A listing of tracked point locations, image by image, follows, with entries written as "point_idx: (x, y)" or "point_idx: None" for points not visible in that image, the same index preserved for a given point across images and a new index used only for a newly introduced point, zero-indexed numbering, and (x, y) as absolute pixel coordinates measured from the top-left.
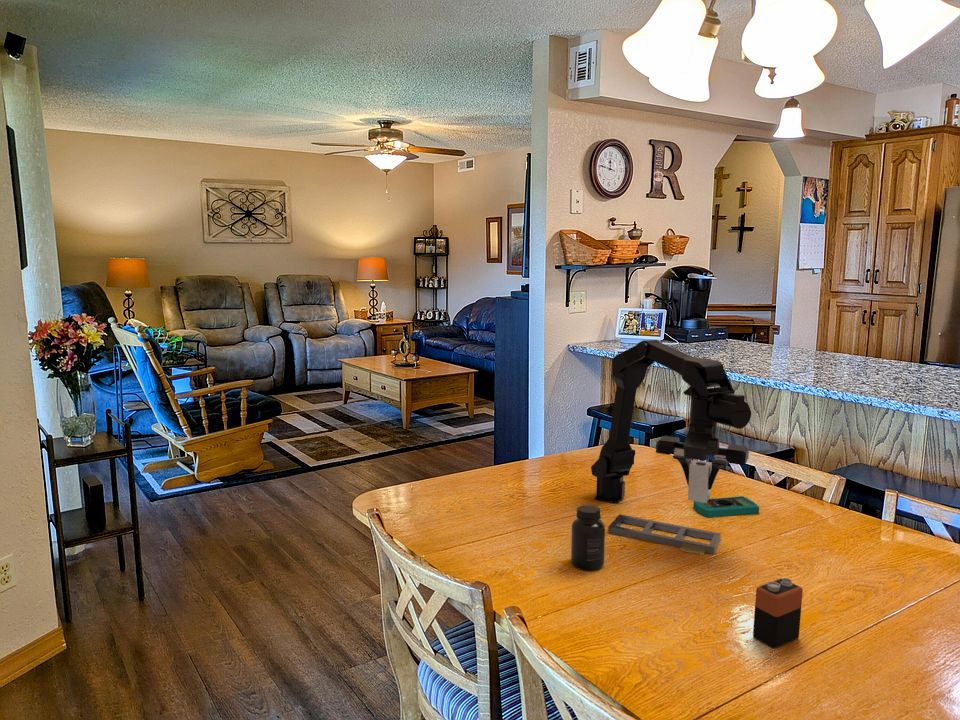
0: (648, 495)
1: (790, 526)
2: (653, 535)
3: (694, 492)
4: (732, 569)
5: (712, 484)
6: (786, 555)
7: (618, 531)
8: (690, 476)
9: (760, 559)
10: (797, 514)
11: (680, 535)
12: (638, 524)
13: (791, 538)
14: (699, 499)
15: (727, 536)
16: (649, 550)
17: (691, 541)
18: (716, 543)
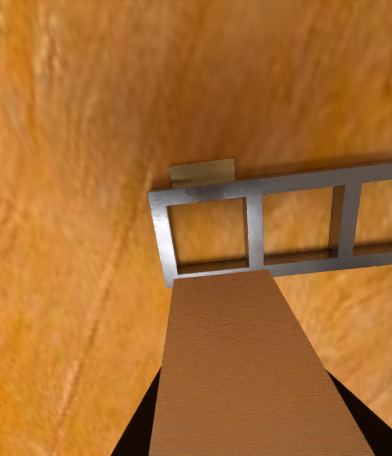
0: (370, 404)
1: (81, 403)
2: (322, 172)
3: (245, 302)
4: (75, 121)
5: (144, 396)
6: (21, 279)
7: None
8: (331, 407)
9: (52, 226)
10: (94, 449)
11: (251, 218)
12: (371, 247)
13: (54, 359)
14: (210, 282)
15: (161, 303)
16: (310, 102)
17: (213, 195)
18: (155, 228)
